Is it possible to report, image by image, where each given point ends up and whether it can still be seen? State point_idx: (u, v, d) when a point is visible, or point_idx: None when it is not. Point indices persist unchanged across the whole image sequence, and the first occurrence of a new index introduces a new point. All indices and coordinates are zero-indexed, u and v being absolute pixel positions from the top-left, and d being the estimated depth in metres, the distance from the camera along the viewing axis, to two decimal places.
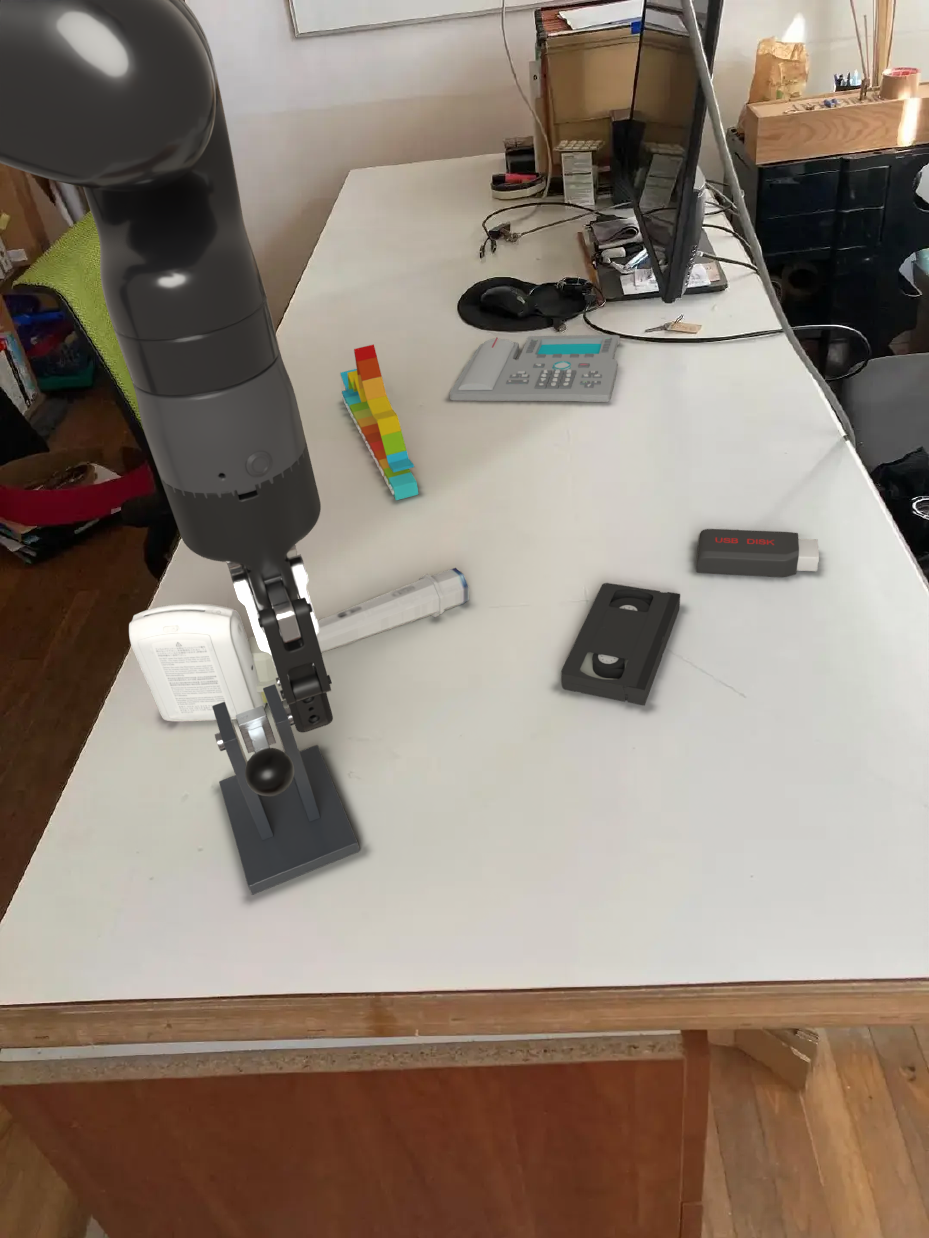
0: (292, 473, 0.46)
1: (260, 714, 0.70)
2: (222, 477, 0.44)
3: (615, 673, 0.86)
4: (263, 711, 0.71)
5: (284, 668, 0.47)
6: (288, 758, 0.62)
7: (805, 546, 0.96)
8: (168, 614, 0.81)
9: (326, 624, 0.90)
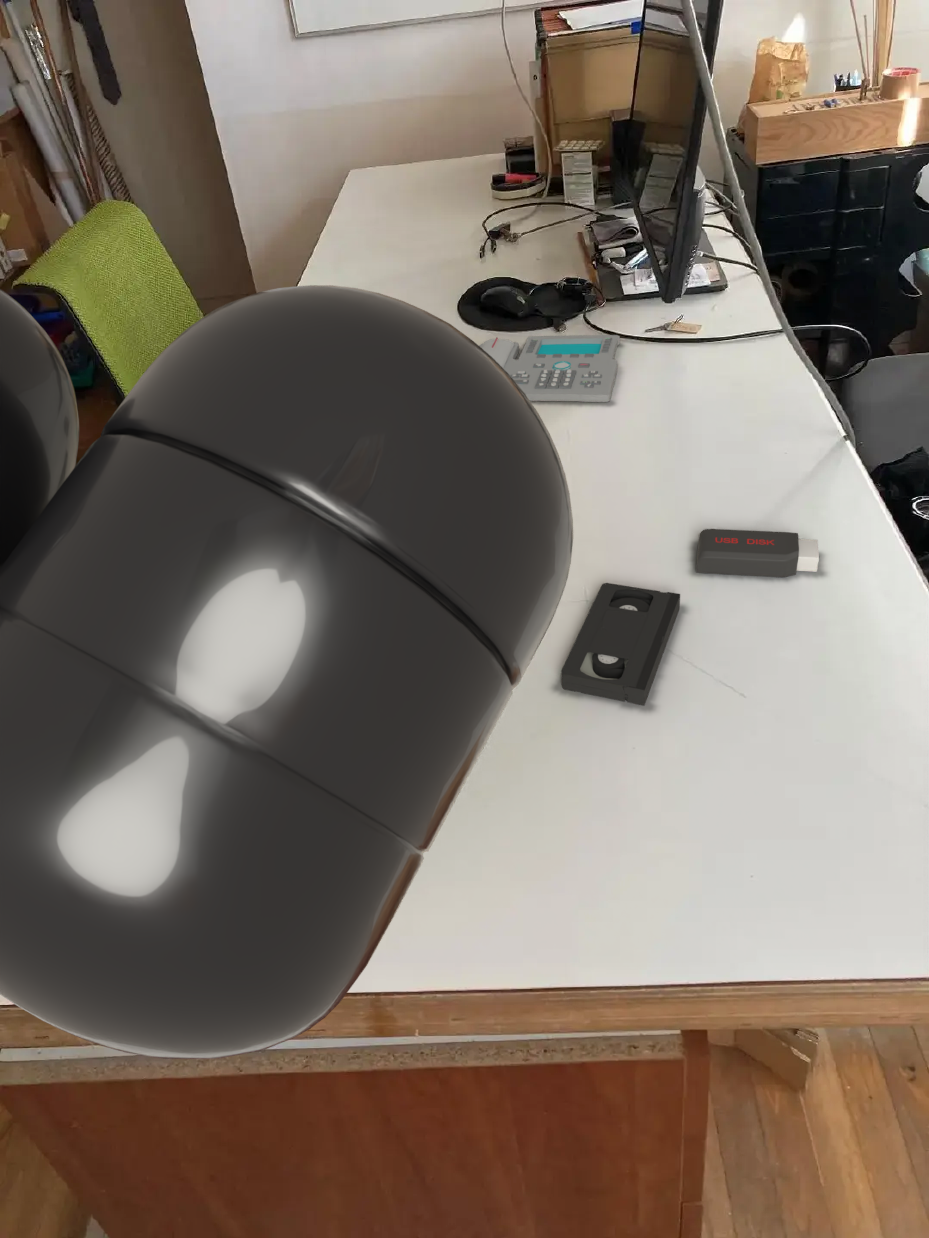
0: None
1: None
2: None
3: (615, 673, 0.86)
4: None
5: None
6: None
7: (805, 546, 0.96)
8: None
9: None
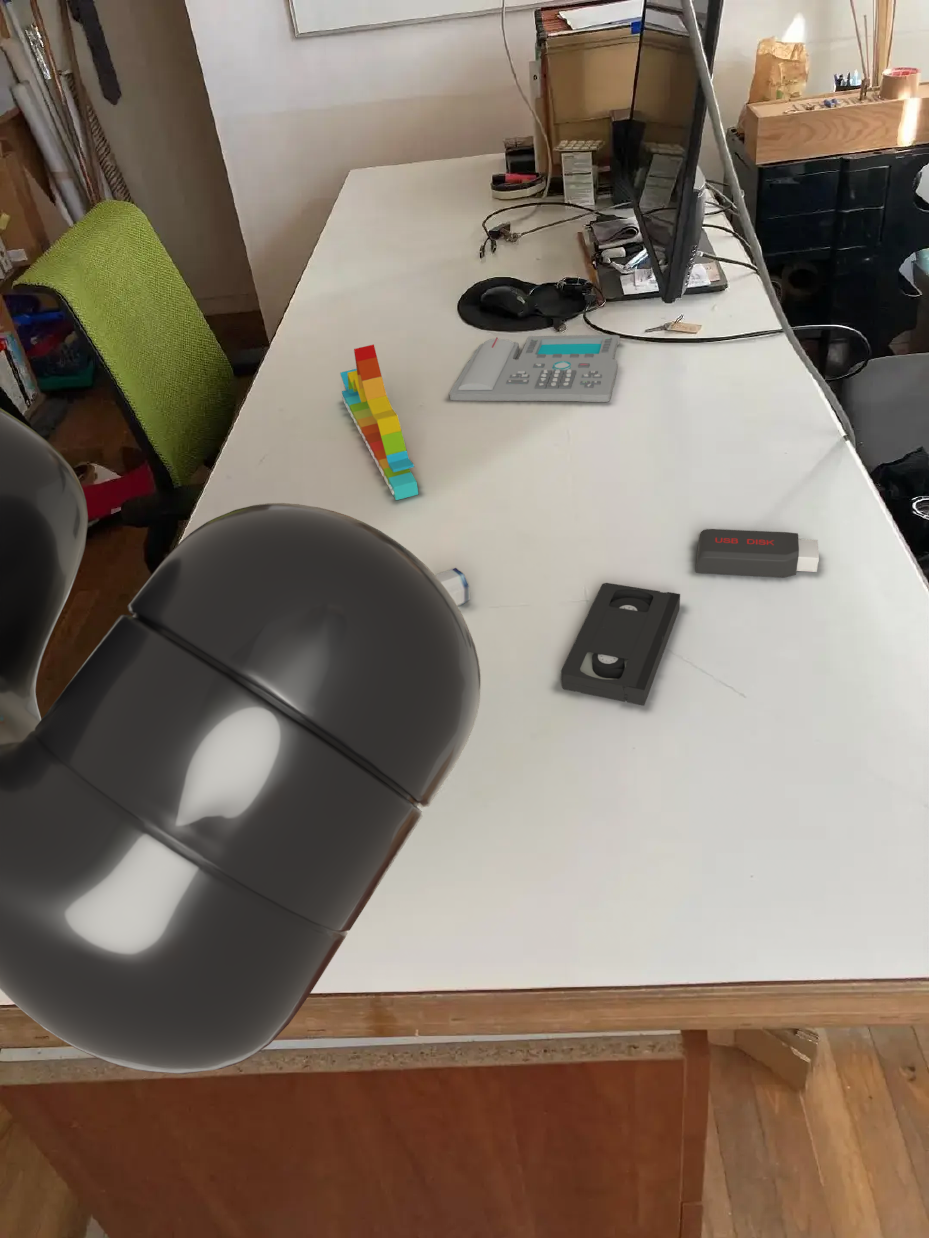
0: None
1: None
2: None
3: (615, 673, 0.86)
4: None
5: None
6: None
7: (805, 546, 0.96)
8: None
9: None
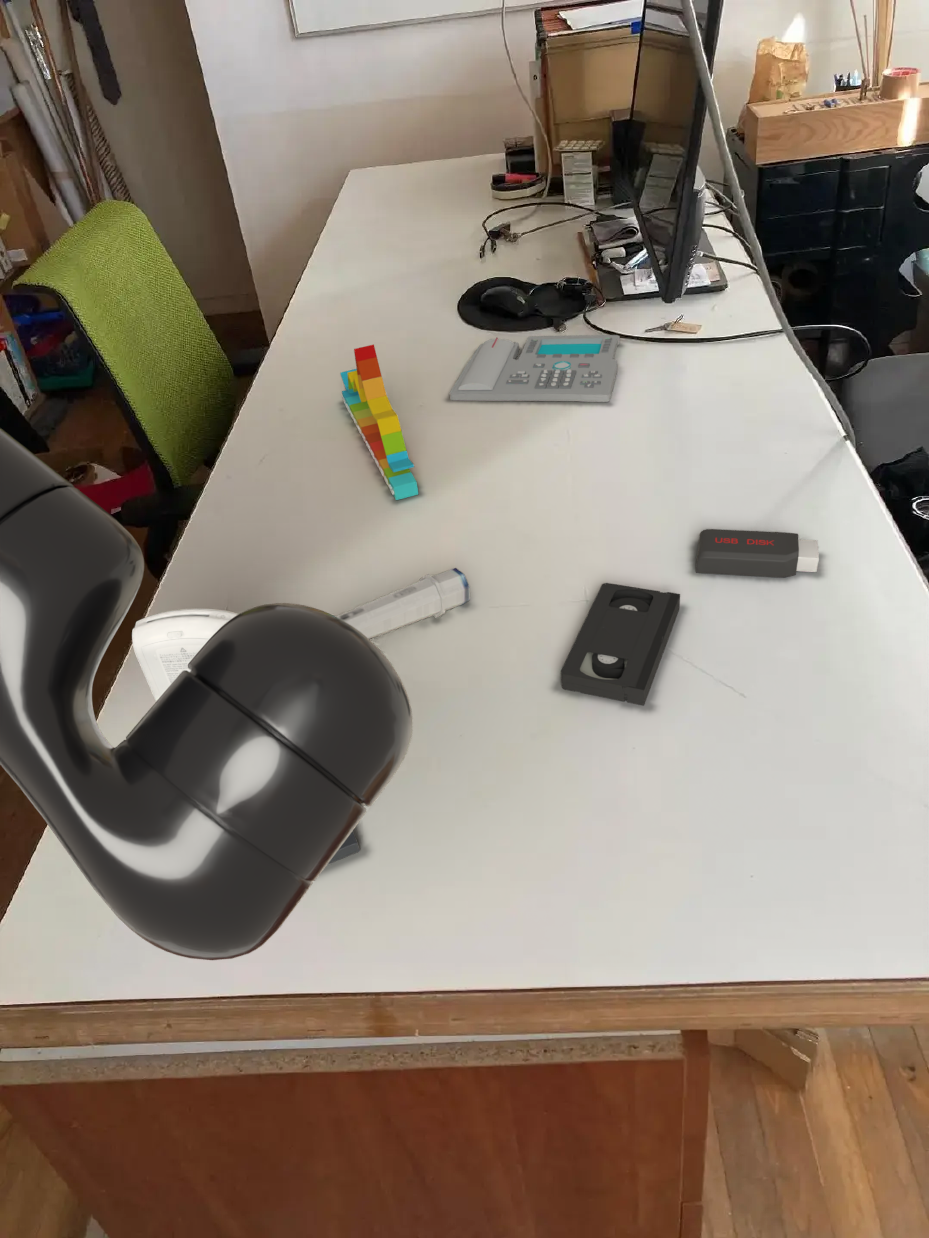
0: None
1: None
2: None
3: (615, 673, 0.86)
4: None
5: None
6: None
7: (805, 547, 0.96)
8: (172, 620, 0.81)
9: None
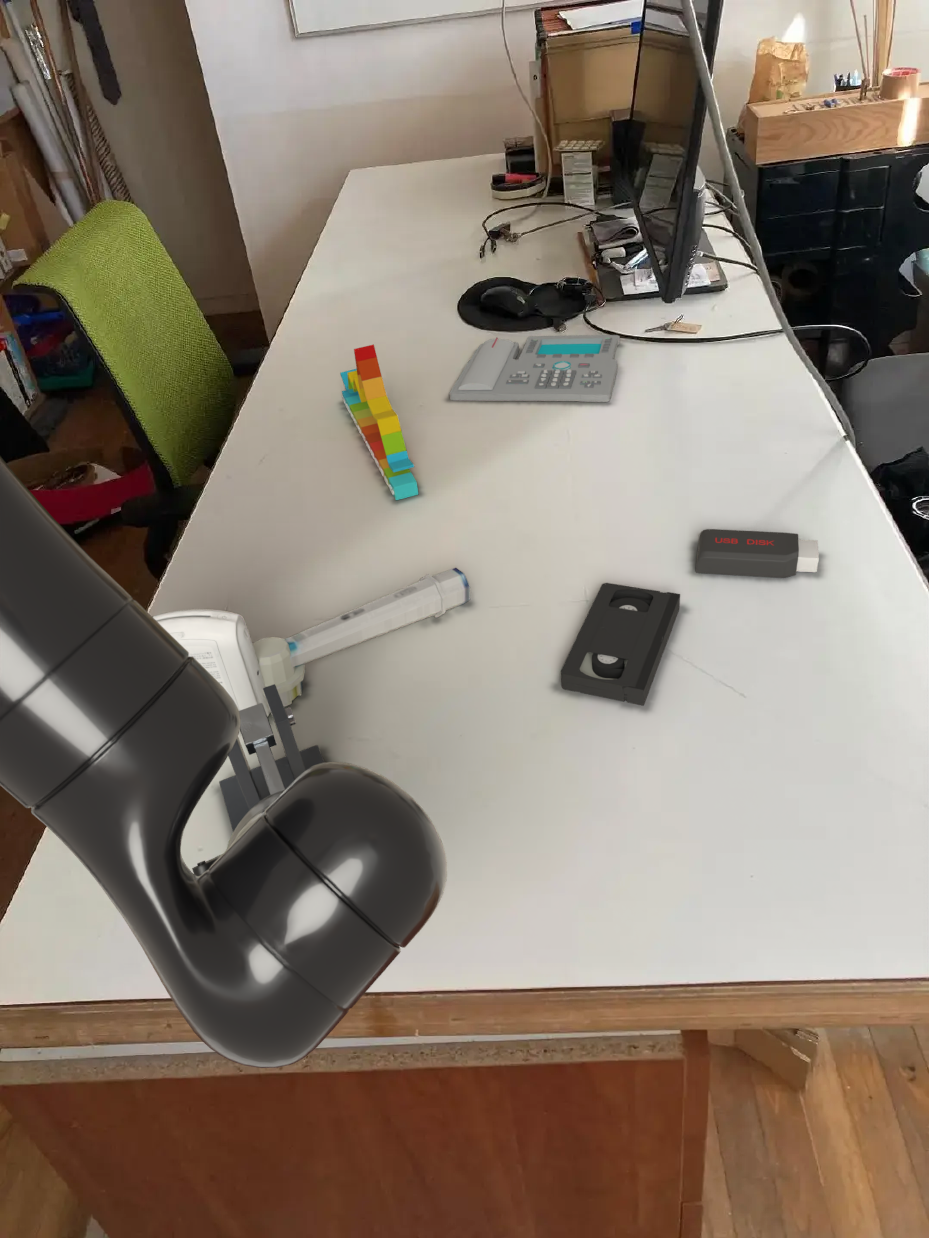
0: None
1: (265, 730, 0.70)
2: None
3: (614, 673, 0.86)
4: (267, 722, 0.70)
5: None
6: None
7: (805, 547, 0.96)
8: (173, 621, 0.81)
9: (329, 627, 0.89)
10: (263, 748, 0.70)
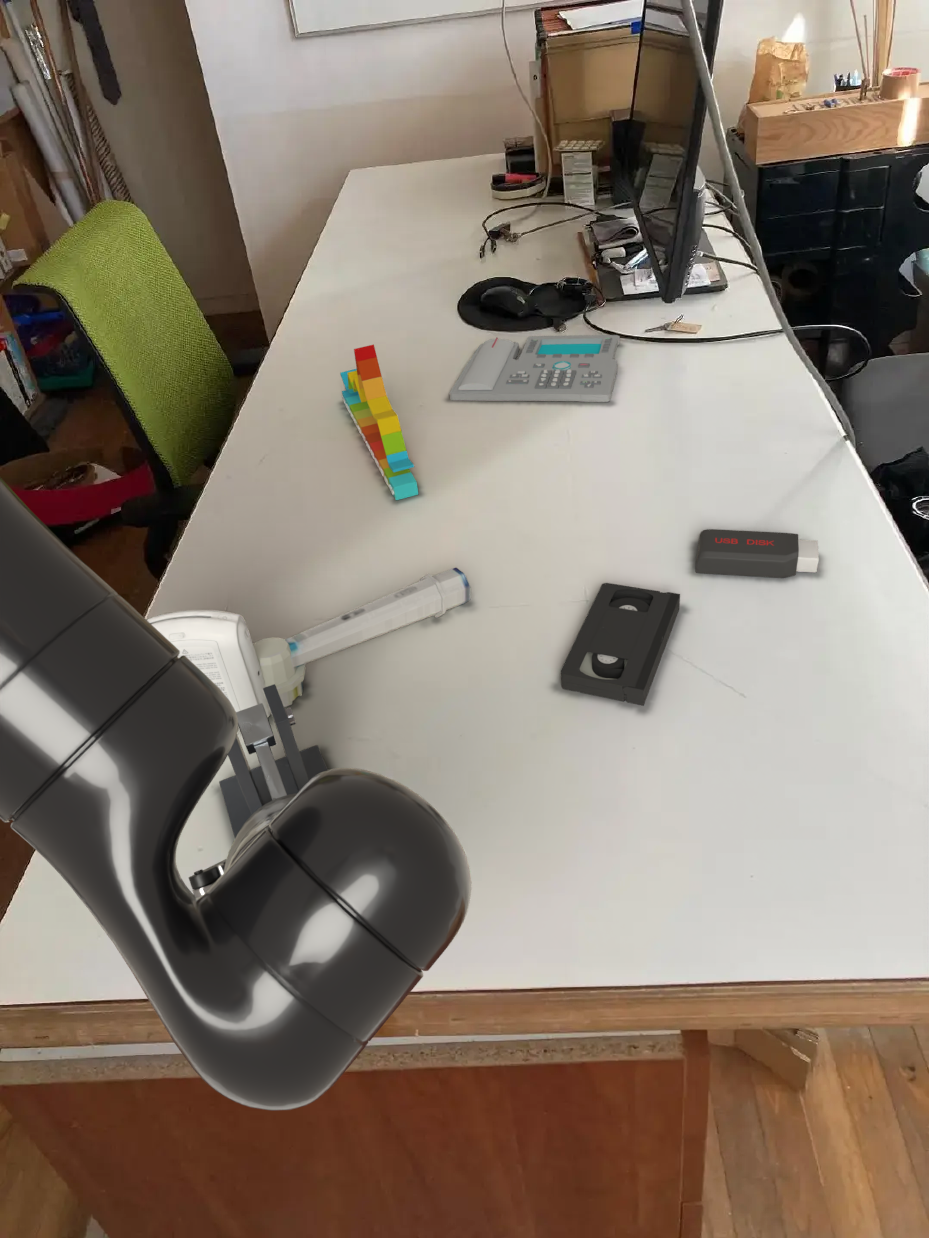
0: None
1: (266, 731, 0.70)
2: None
3: (614, 673, 0.86)
4: (267, 723, 0.70)
5: None
6: None
7: (805, 547, 0.96)
8: (173, 621, 0.80)
9: (330, 627, 0.89)
10: (263, 749, 0.70)
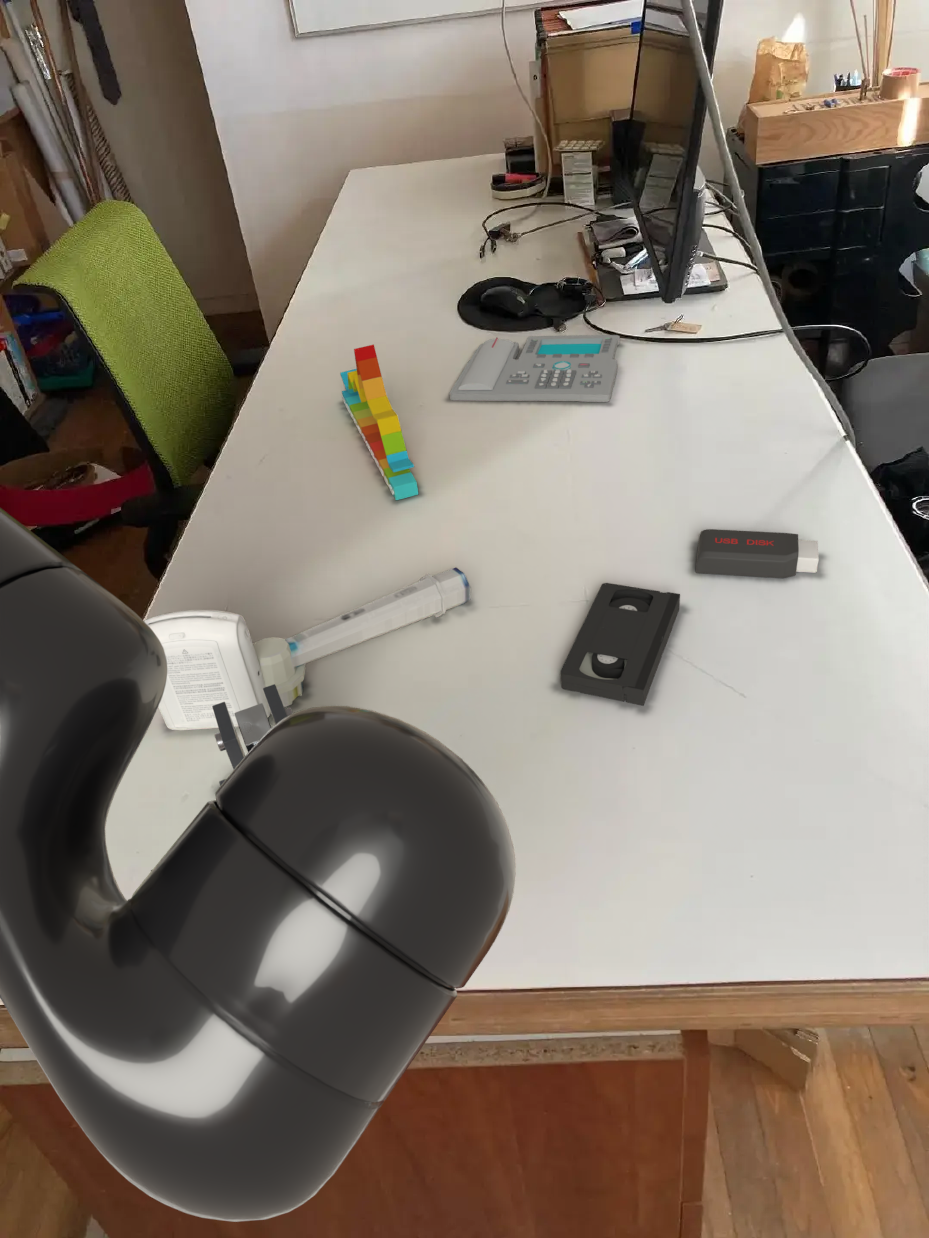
0: None
1: (266, 731, 0.70)
2: None
3: (614, 673, 0.86)
4: (267, 723, 0.70)
5: None
6: None
7: (805, 547, 0.96)
8: (173, 621, 0.80)
9: (330, 627, 0.89)
10: None
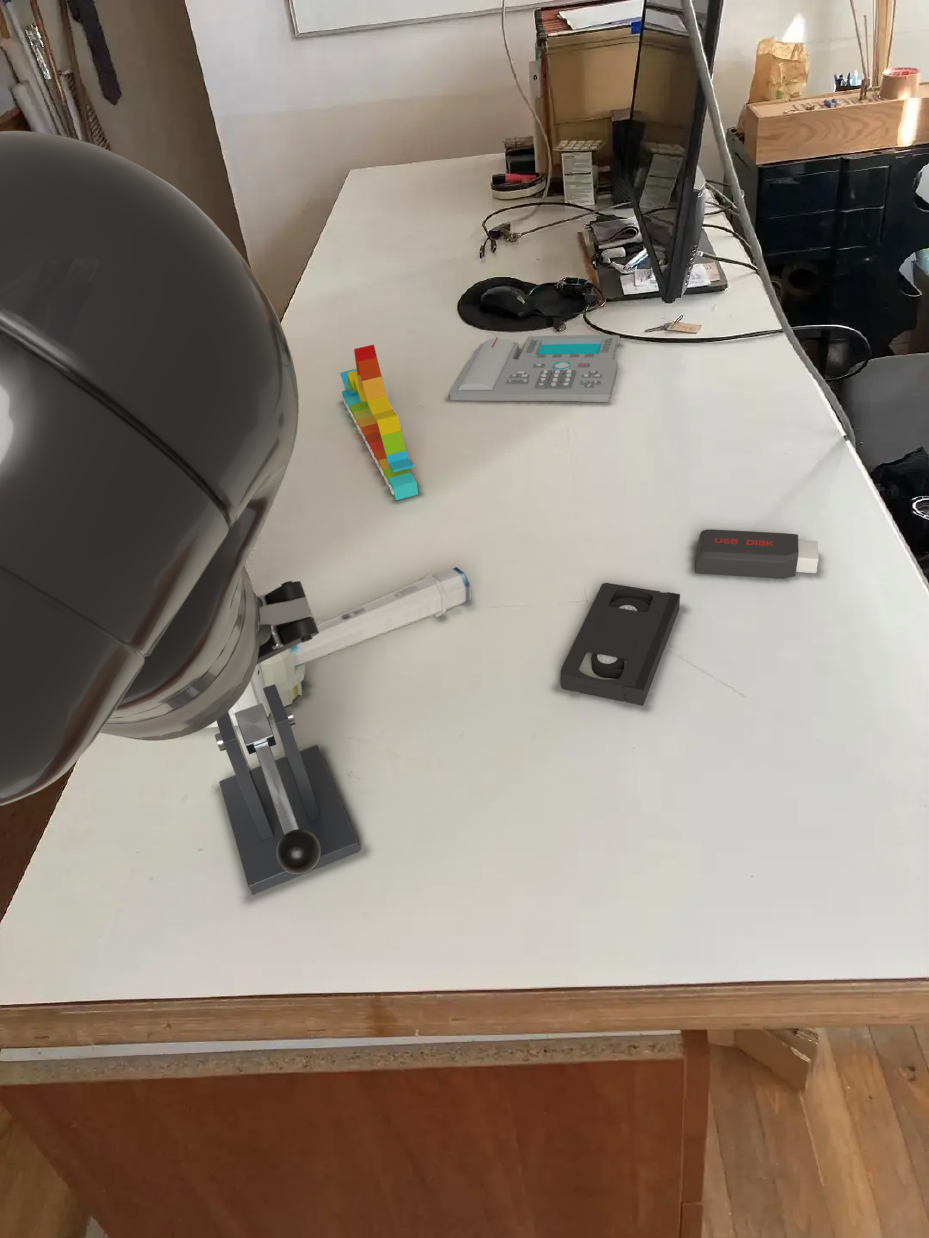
0: None
1: (266, 731, 0.70)
2: None
3: (614, 673, 0.86)
4: (267, 723, 0.70)
5: None
6: (318, 847, 0.67)
7: (805, 548, 0.96)
8: None
9: (330, 626, 0.89)
10: (263, 749, 0.70)
